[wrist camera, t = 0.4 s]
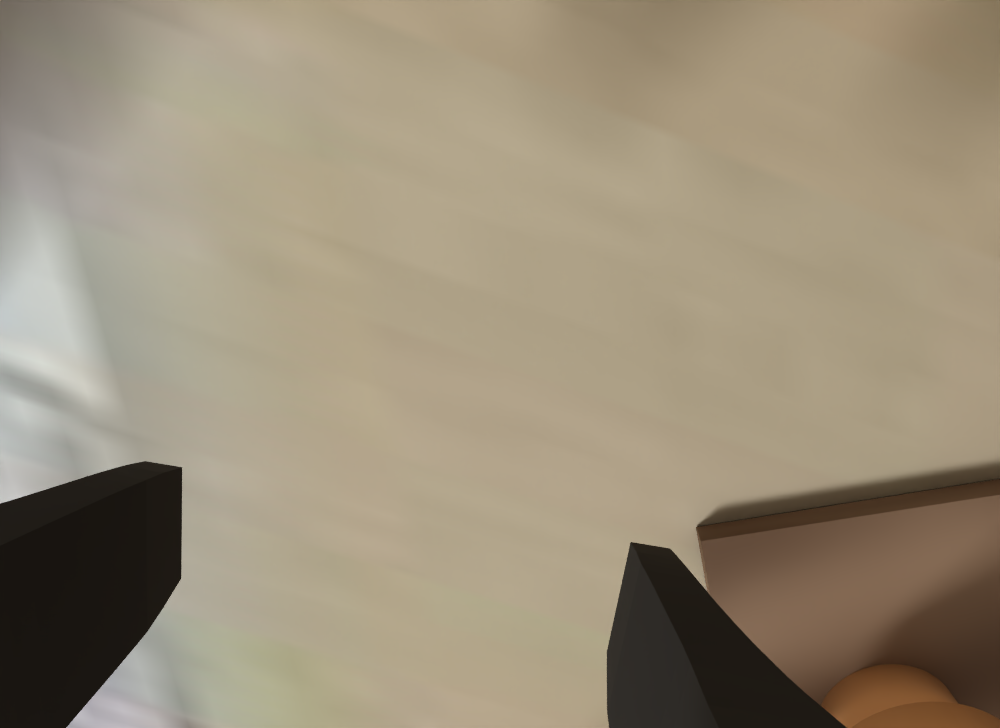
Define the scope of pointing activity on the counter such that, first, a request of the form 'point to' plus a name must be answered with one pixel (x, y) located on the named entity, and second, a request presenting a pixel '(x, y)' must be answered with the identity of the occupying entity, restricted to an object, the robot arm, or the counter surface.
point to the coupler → (900, 701)
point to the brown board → (870, 588)
